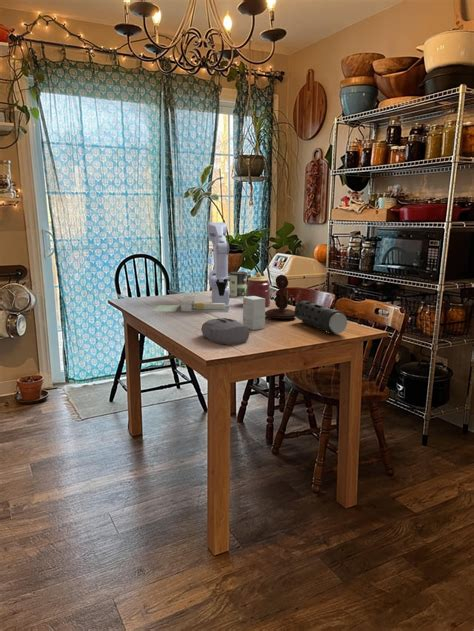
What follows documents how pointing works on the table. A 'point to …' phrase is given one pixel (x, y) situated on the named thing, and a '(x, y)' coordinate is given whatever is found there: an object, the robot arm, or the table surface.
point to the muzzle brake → (321, 317)
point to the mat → (178, 309)
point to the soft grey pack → (225, 331)
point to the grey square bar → (188, 303)
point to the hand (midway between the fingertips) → (221, 294)
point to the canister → (259, 287)
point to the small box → (254, 312)
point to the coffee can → (238, 284)
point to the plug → (209, 305)
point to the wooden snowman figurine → (281, 301)
